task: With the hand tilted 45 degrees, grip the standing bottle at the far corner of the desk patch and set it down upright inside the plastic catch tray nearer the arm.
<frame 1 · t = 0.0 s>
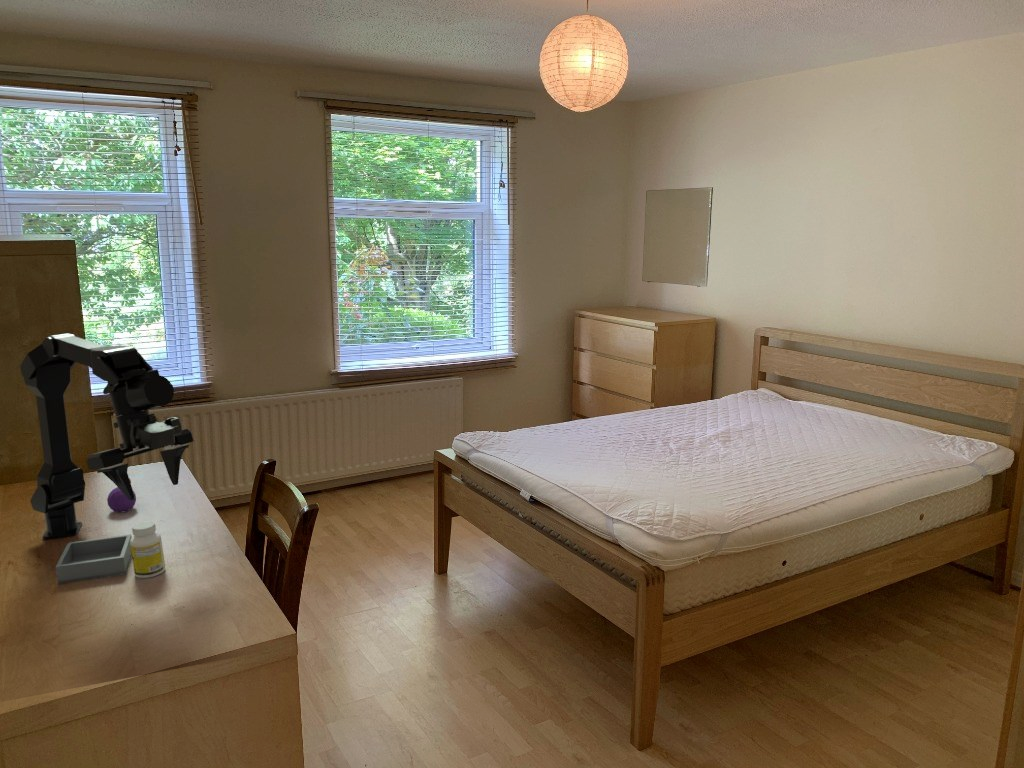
hand: (154, 492, 144), 15 cm above the table, tool pointing down, fingers open, 9 cm apart
supplement bottle: (150, 573, 145), on the table
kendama: (124, 502, 183), on the table
catch tray: (97, 566, 148), on the table
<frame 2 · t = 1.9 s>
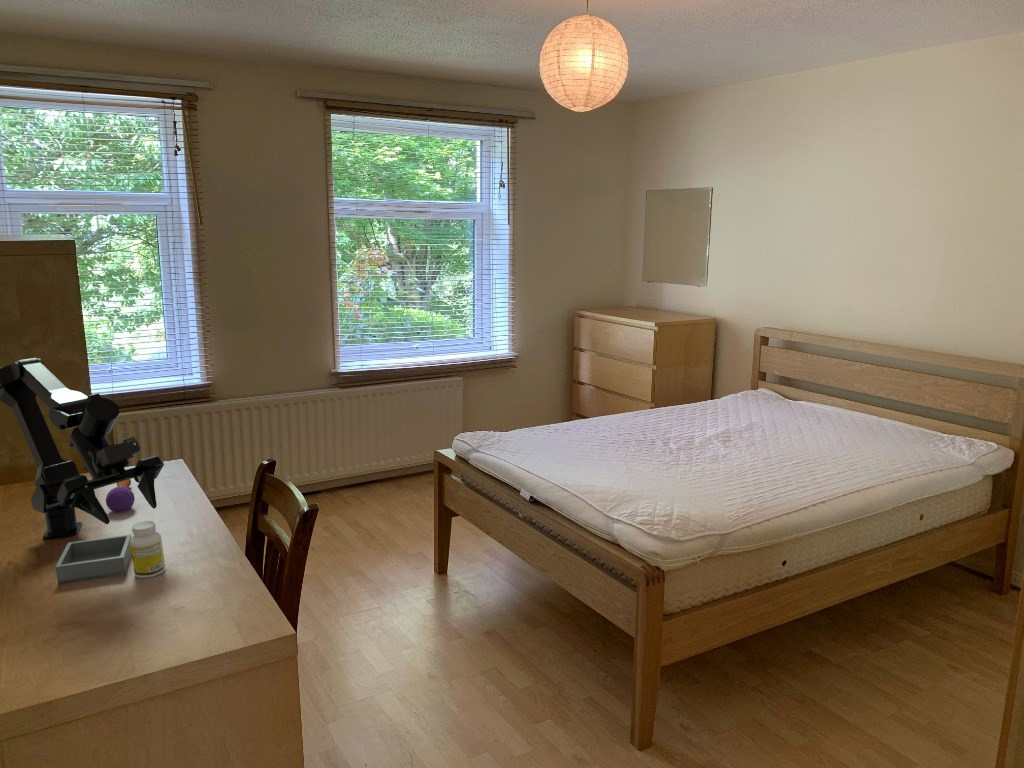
hand: (132, 515, 145), 11 cm above the table, tool tilted 45°, fingers open, 9 cm apart
nothing on the table moved.
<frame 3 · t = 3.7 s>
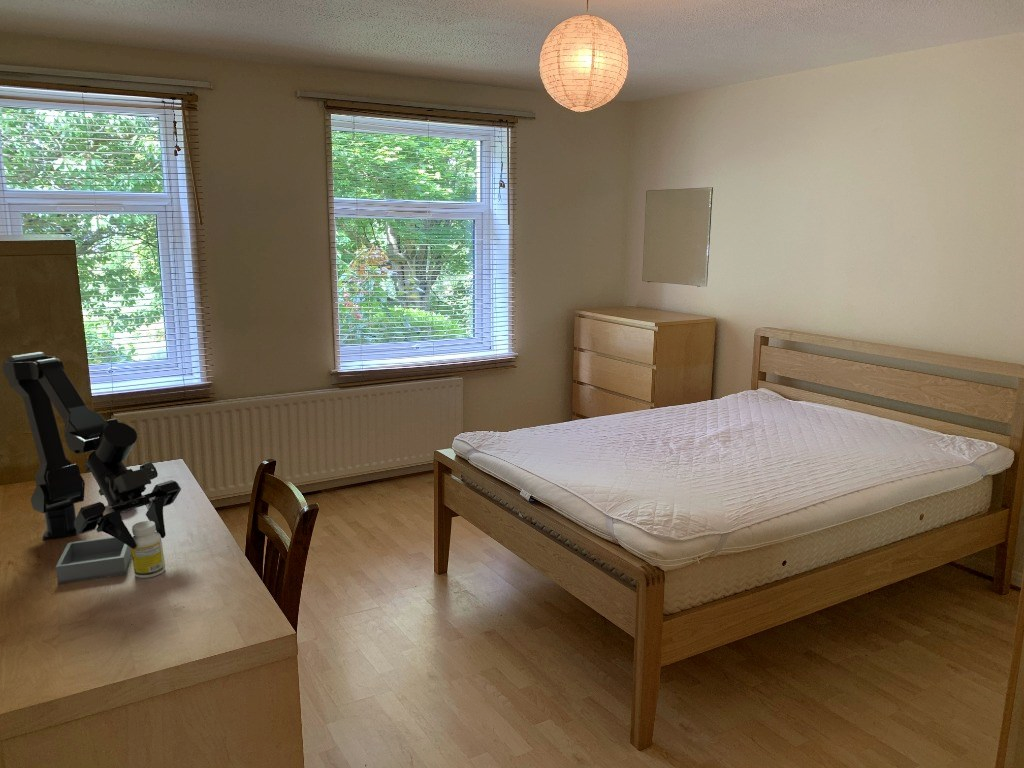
hand: (149, 542, 143), 7 cm above the table, tool tilted 45°, fingers closed on supplement bottle, 5 cm apart
supplement bottle: (150, 573, 145), on the table, touching gripper
everything else where it was.
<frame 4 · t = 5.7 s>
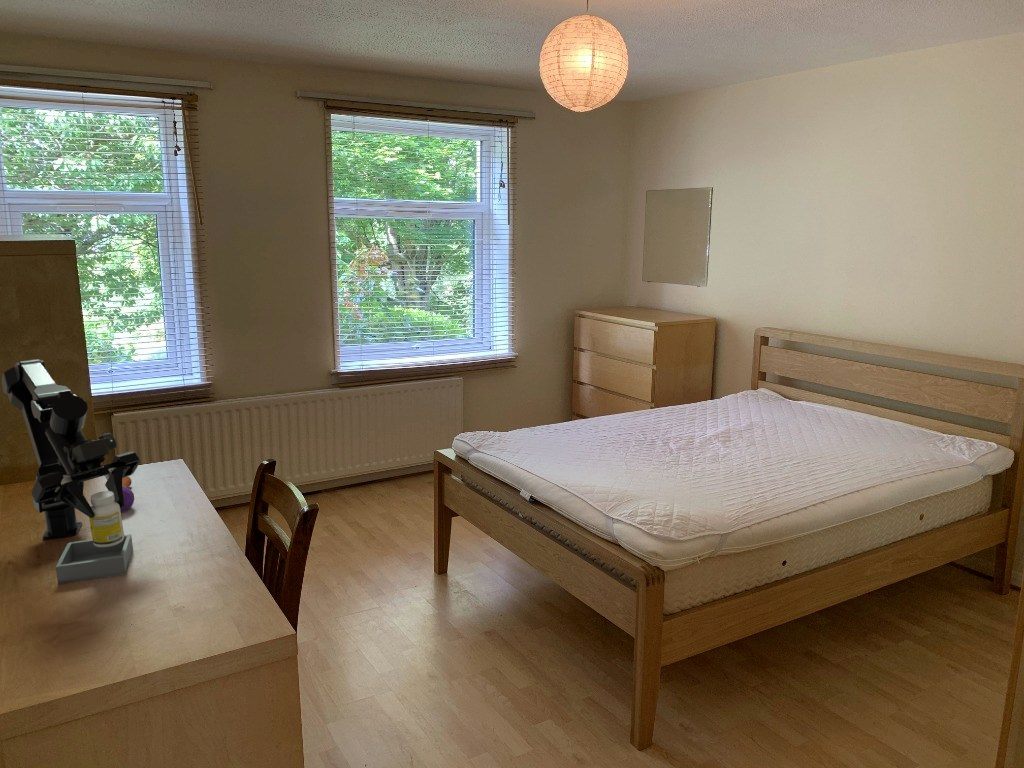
hand: (108, 511, 144), 12 cm above the table, tool tilted 45°, fingers closed on supplement bottle, 5 cm apart
supplement bottle: (108, 542, 147), point 5 cm above the table, touching gripper
everything else where it was.
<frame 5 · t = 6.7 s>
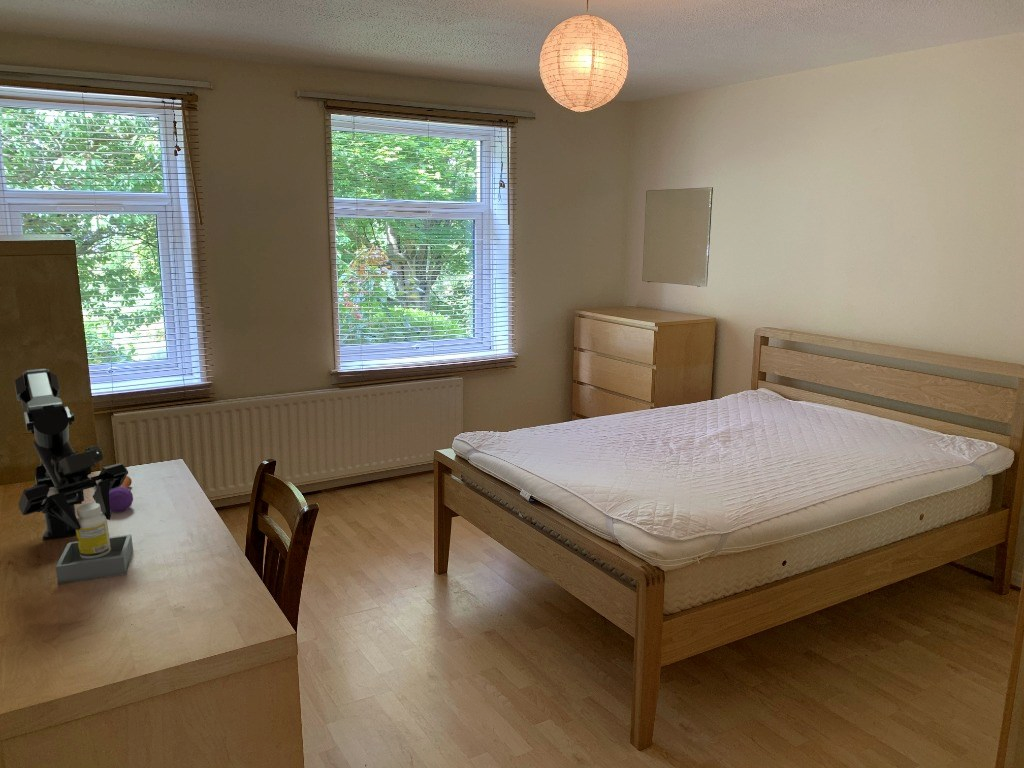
hand: (94, 523, 145), 9 cm above the table, tool tilted 45°, fingers closed on supplement bottle, 5 cm apart
supplement bottle: (95, 554, 148), point 2 cm above the table, touching gripper
everything else where it was.
when the fingers open (8 cm above the table, at t = 7.7 s): supplement bottle drops 1 cm, resting on catch tray.
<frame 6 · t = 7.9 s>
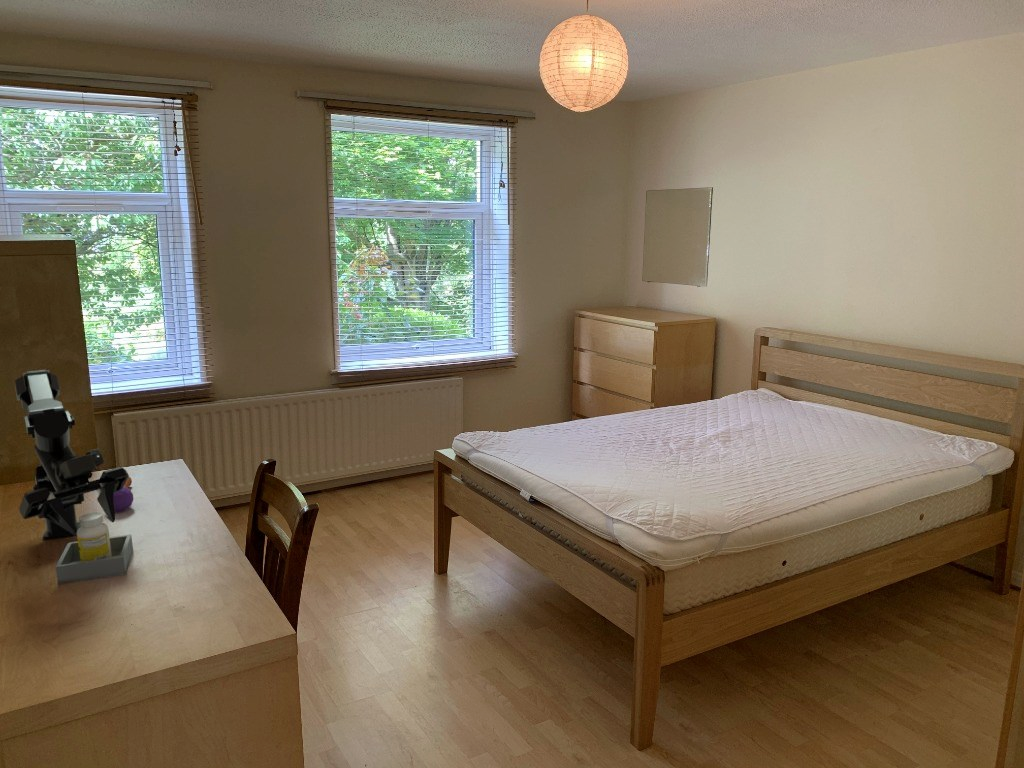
hand: (95, 527, 145), 9 cm above the table, tool tilted 45°, fingers open, 7 cm apart
supplement bottle: (96, 564, 148), resting on catch tray
everything else where it was.
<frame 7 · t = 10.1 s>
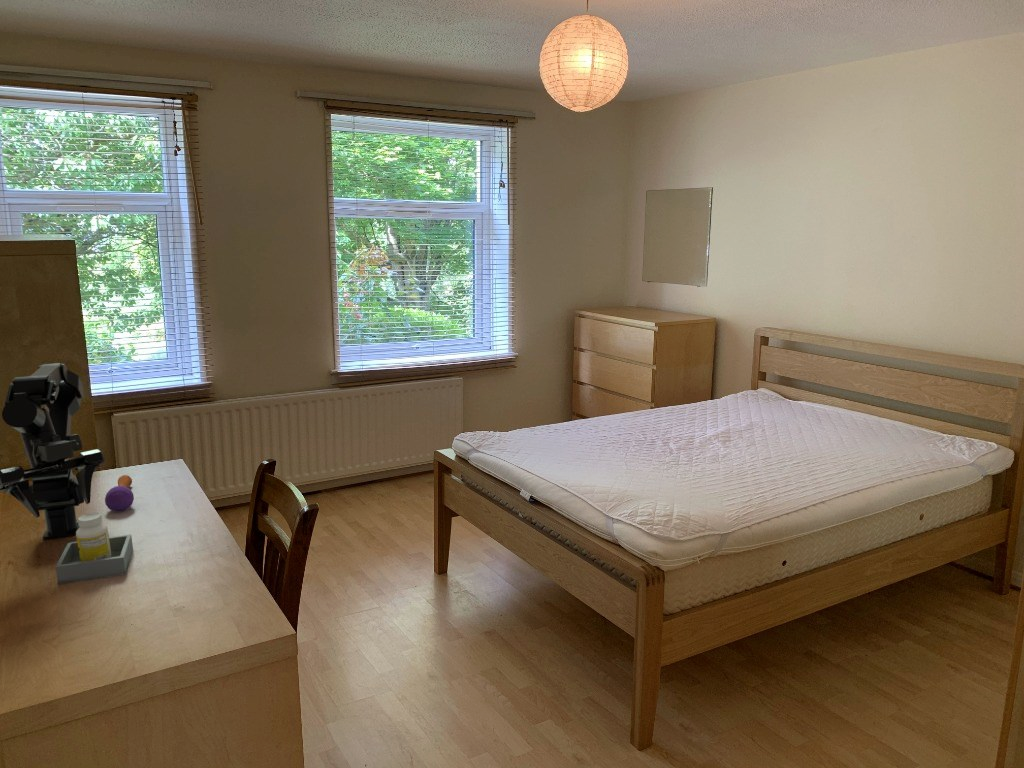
hand: (63, 510, 148), 11 cm above the table, tool tilted 30°, fingers open, 9 cm apart
nothing on the table moved.
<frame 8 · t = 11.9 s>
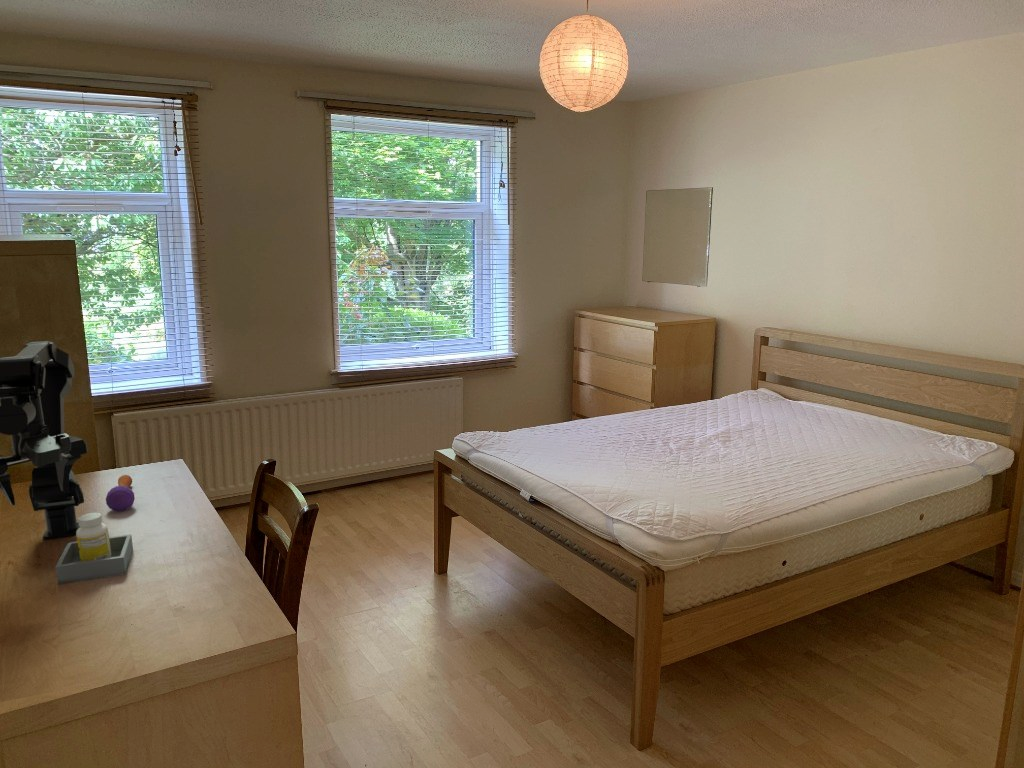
hand: (38, 497, 149), 13 cm above the table, tool pointing down, fingers open, 9 cm apart
nothing on the table moved.
at the end: supplement bottle inside the target area on the catch tray (0.2 cm from its centre), point 0.4 cm above the catch tray's base; supplement bottle tilted 0°; the gripper is holding nothing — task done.
